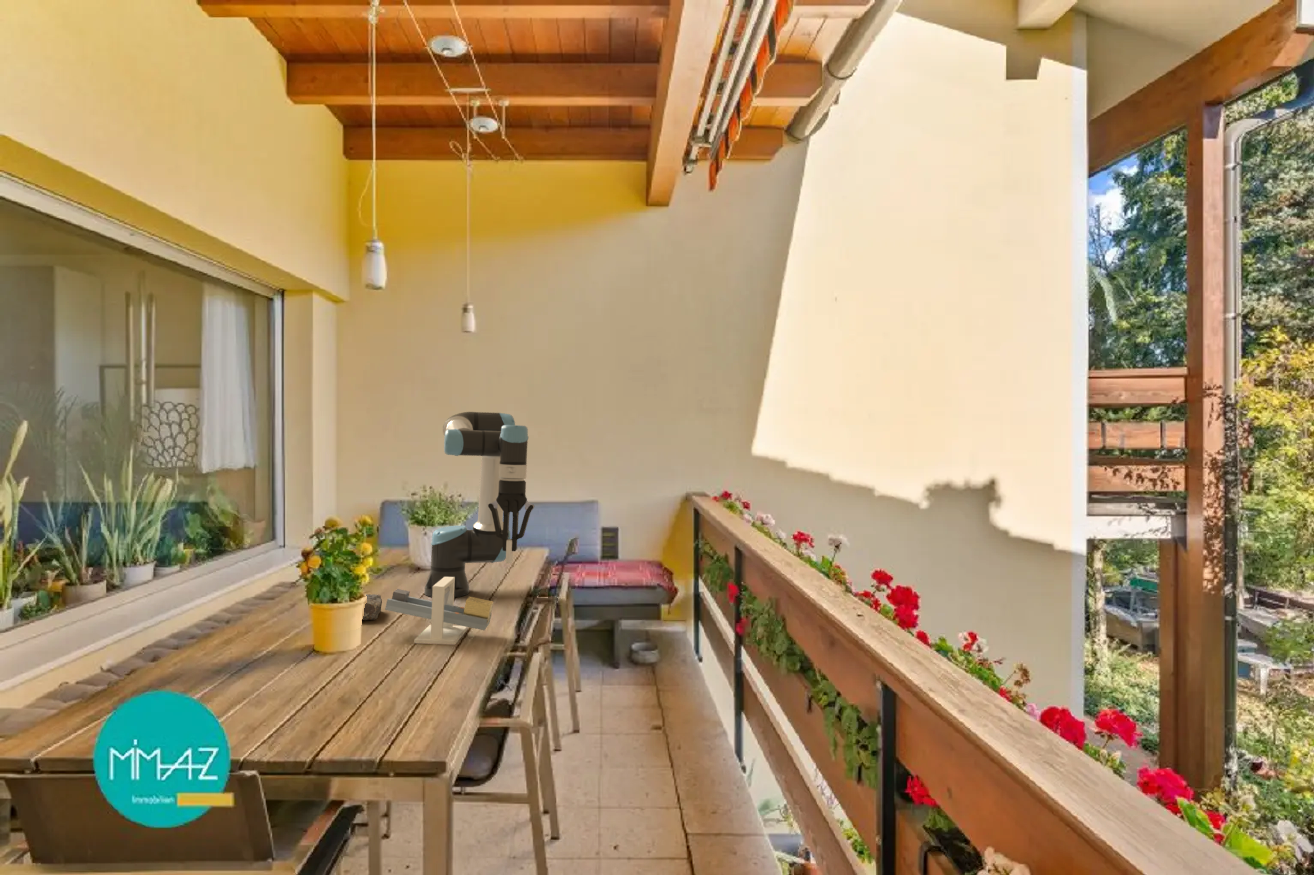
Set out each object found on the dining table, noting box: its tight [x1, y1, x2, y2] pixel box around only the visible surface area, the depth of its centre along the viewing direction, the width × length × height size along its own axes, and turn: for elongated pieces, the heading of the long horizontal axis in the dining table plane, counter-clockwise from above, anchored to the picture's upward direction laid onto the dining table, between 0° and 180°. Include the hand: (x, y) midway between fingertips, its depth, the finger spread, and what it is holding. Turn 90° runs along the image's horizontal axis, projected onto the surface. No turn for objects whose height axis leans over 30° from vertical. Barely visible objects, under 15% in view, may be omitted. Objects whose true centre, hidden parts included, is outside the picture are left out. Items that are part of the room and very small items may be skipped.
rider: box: [463, 596, 494, 623], centre depth 194 cm, size 4×7×6 cm, turn 92°
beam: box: [384, 586, 492, 631], centre depth 194 cm, size 8×28×8 cm, turn 92°
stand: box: [414, 577, 468, 645], centre depth 194 cm, size 14×11×16 cm
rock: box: [363, 593, 383, 621], centre depth 209 cm, size 13×6×15 cm
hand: (509, 562), depth 194 cm, fingers closed
